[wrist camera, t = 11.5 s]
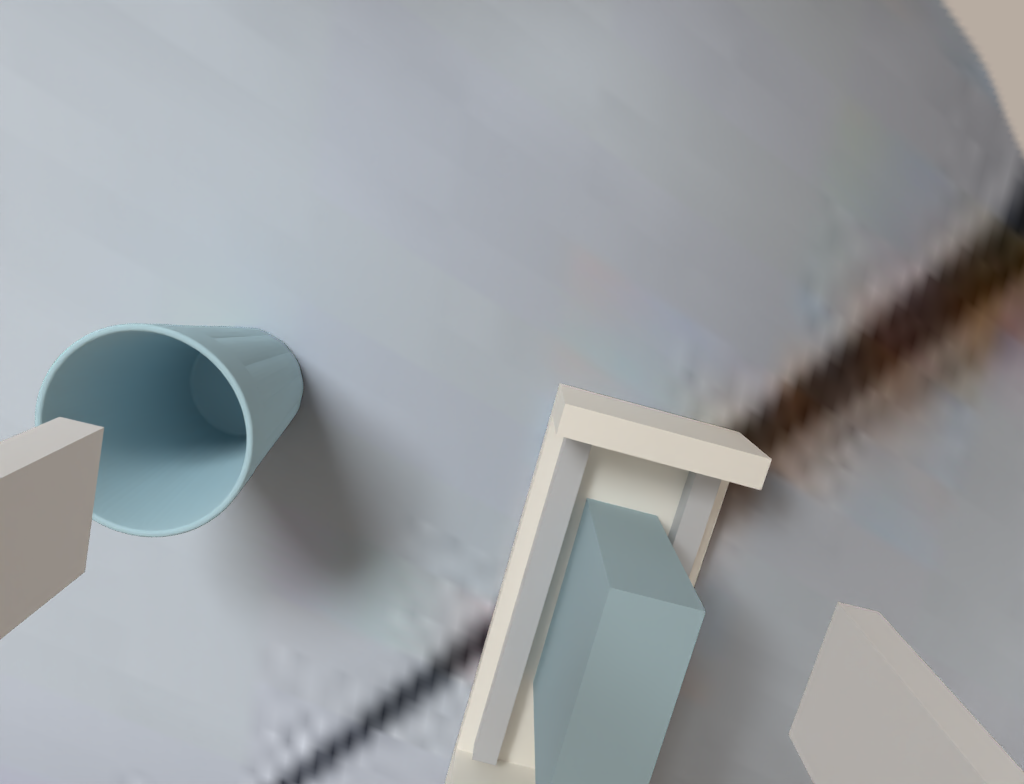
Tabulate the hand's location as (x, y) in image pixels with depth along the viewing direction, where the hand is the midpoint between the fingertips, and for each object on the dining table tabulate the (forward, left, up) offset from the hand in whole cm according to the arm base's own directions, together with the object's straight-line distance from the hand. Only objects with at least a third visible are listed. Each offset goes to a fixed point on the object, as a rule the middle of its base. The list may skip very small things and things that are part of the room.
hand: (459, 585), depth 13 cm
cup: (+4, -12, -24) cm, 27 cm away
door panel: (+10, +7, -23) cm, 26 cm away
